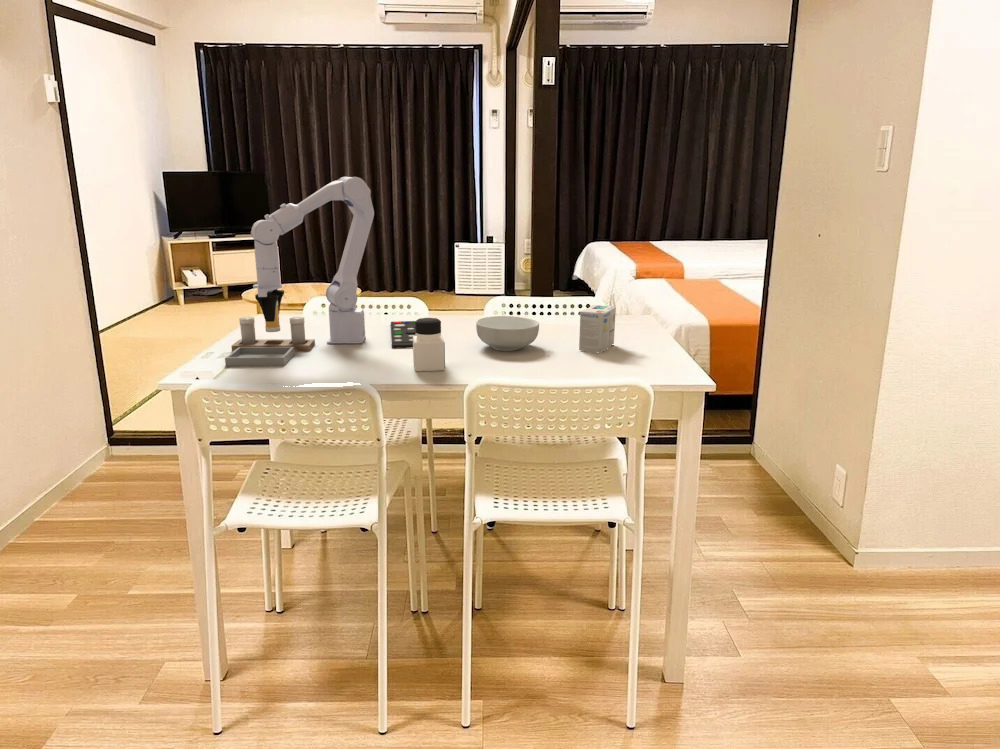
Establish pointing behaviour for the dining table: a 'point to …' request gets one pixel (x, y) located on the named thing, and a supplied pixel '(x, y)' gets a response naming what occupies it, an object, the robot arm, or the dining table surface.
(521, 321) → the cereal bowl
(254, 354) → the tray
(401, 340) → the remote control
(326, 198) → the robot arm
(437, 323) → the medicine bottle
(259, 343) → the brown wooden rack
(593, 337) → the light bulb box
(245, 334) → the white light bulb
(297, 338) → the cylinder
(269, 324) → the amber fuse
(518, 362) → the dining table surface
